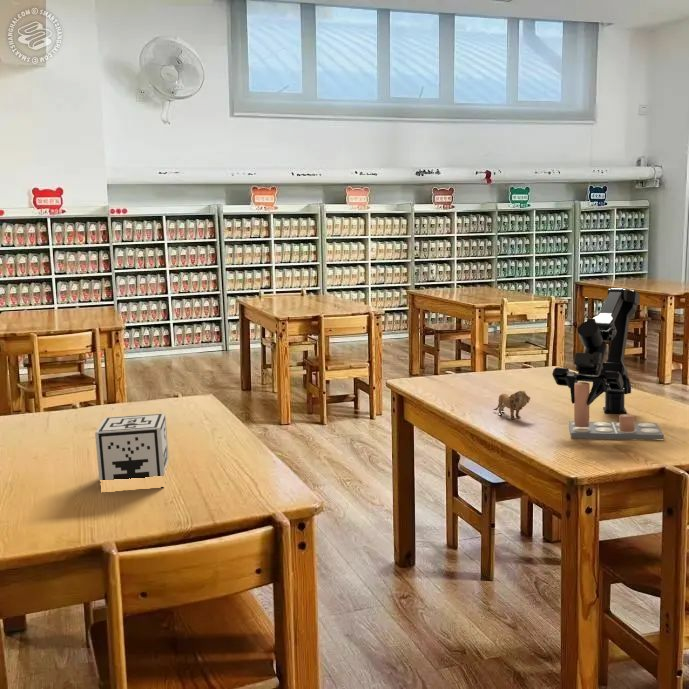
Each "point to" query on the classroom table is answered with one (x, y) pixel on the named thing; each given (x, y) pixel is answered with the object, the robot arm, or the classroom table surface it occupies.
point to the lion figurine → (513, 402)
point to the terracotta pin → (581, 404)
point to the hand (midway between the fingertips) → (580, 403)
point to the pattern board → (617, 429)
